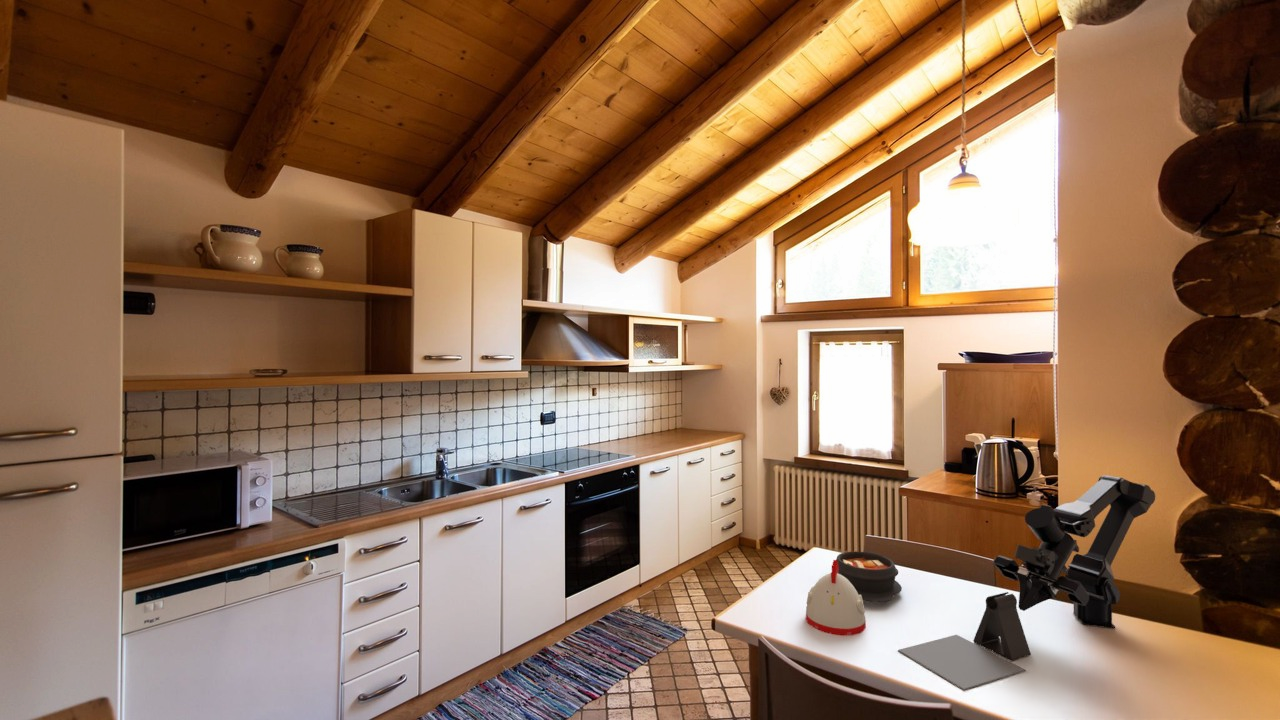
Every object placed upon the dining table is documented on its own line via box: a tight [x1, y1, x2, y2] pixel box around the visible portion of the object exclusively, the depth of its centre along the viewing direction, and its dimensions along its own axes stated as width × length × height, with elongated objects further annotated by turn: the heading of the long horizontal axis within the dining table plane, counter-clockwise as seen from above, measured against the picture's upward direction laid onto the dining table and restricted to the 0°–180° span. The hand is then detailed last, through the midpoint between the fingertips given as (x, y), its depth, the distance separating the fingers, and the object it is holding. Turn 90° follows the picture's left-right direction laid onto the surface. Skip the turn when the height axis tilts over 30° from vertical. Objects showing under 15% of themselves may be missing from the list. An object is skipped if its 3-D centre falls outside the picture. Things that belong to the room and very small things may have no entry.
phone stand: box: [973, 591, 1031, 662], centre depth 126 cm, size 9×6×12 cm, turn 22°
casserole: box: [835, 550, 902, 603], centre depth 158 cm, size 25×19×8 cm
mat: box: [897, 634, 1027, 691], centre depth 121 cm, size 18×16×1 cm
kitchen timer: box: [805, 559, 867, 636], centre depth 139 cm, size 14×14×15 cm
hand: (1021, 609), depth 128 cm, fingers closed
